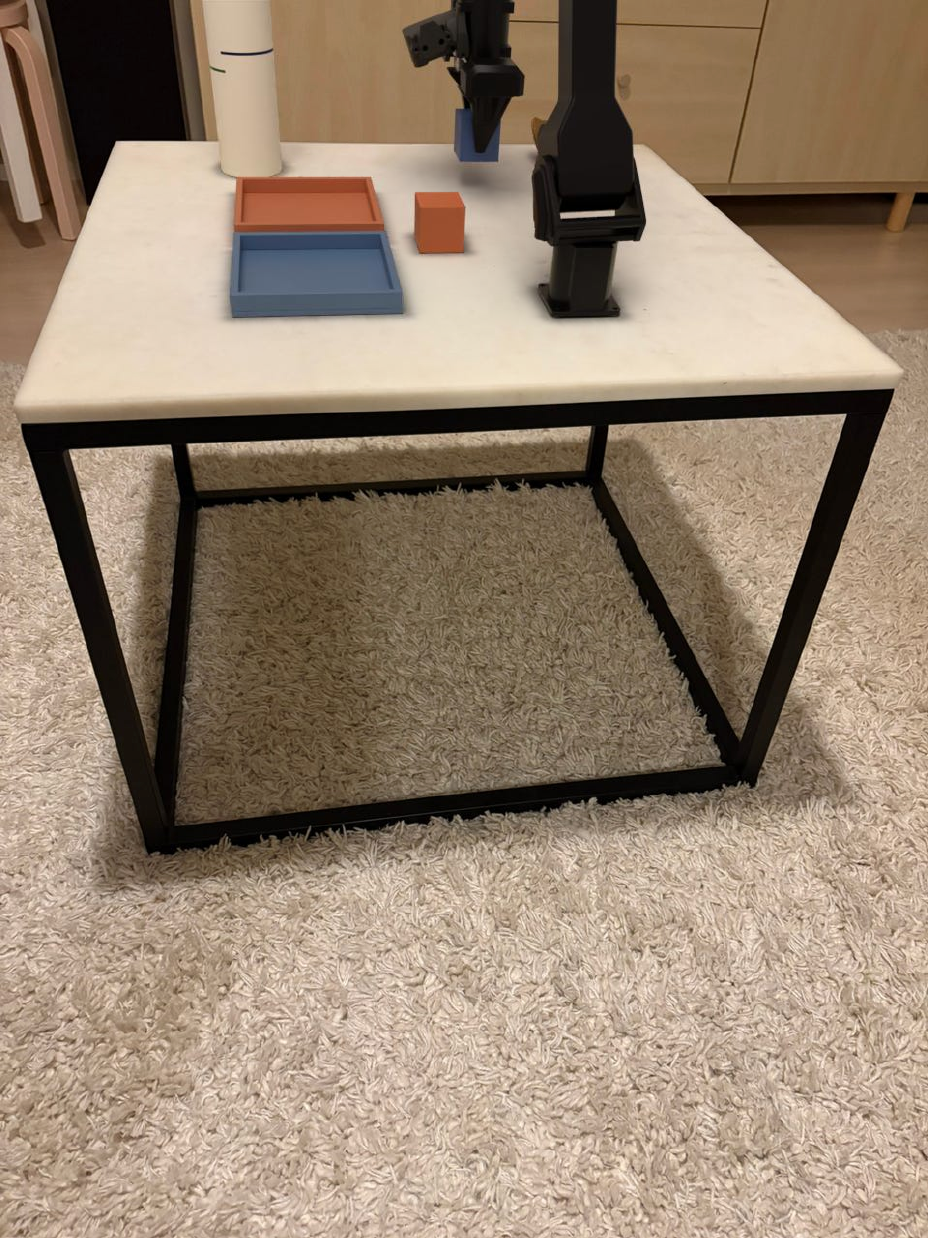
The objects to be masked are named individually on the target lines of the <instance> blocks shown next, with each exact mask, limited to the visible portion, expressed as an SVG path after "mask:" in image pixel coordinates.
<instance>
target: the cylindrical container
mask: <svg viewBox="0 0 928 1238" xmlns="http://www.w3.org/2000/svg"><path fill="white" fill-rule="evenodd" d="M201 3H202V4H201V5H202V12H203V22H204V29H205V30H204V31H205V39H206V48H207V55H208V56H207V57H208V64H209V72H210V82H211V89H212V97H213V98H212V99H213V106H214V107H213V108H214V116H215V117H214V118H215V124H216V134H217V141H218V142H217V143H218V152H219V159H220V168H221V169H220V170H221V172H223V173H224V174H226V175H227V176H230V177H233V178H236V177H275V176H277V175H280V173H281V172H282V171H283V159H282V157H283V156H282V146H281V145H282V144H281V134H280V133H281V131H280V119H279V106H278V93H277V79H276V65H275V51H274V39H273V25H272V14H271V11H272V10H271V1H270V0H201Z"/></svg>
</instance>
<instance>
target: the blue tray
mask: <svg viewBox="0 0 928 1238" xmlns="http://www.w3.org/2000/svg"><path fill="white" fill-rule="evenodd" d="M231 247H232V248H231V264H230V265H231V266H230V280H229V281H230V283H229V302H230V310H231V317H232V318H254V317H255V318H258V317H259V318H260V317H264V318H265V317H301V316H302V317H303V316H304V317H305V316H346V315H348V316H349V315H350V316H351V315H353V316H354V315H391V314H392V315H393V314H395V315H396V314H403V310H404V309H403V307H404V305H403V303H404V301H403V296H404V294H403V293H404V292H403V289H402V285H401V282H400V278H399V274H398V269H397V267H396V266H397V265H396V263H395V259H394V256H393V252H392V248H391V245H390V241H389V237H388V233H387V231H386V230H384V231H348V232H241V233H235V232H233V233H232V246H231Z"/></svg>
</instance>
